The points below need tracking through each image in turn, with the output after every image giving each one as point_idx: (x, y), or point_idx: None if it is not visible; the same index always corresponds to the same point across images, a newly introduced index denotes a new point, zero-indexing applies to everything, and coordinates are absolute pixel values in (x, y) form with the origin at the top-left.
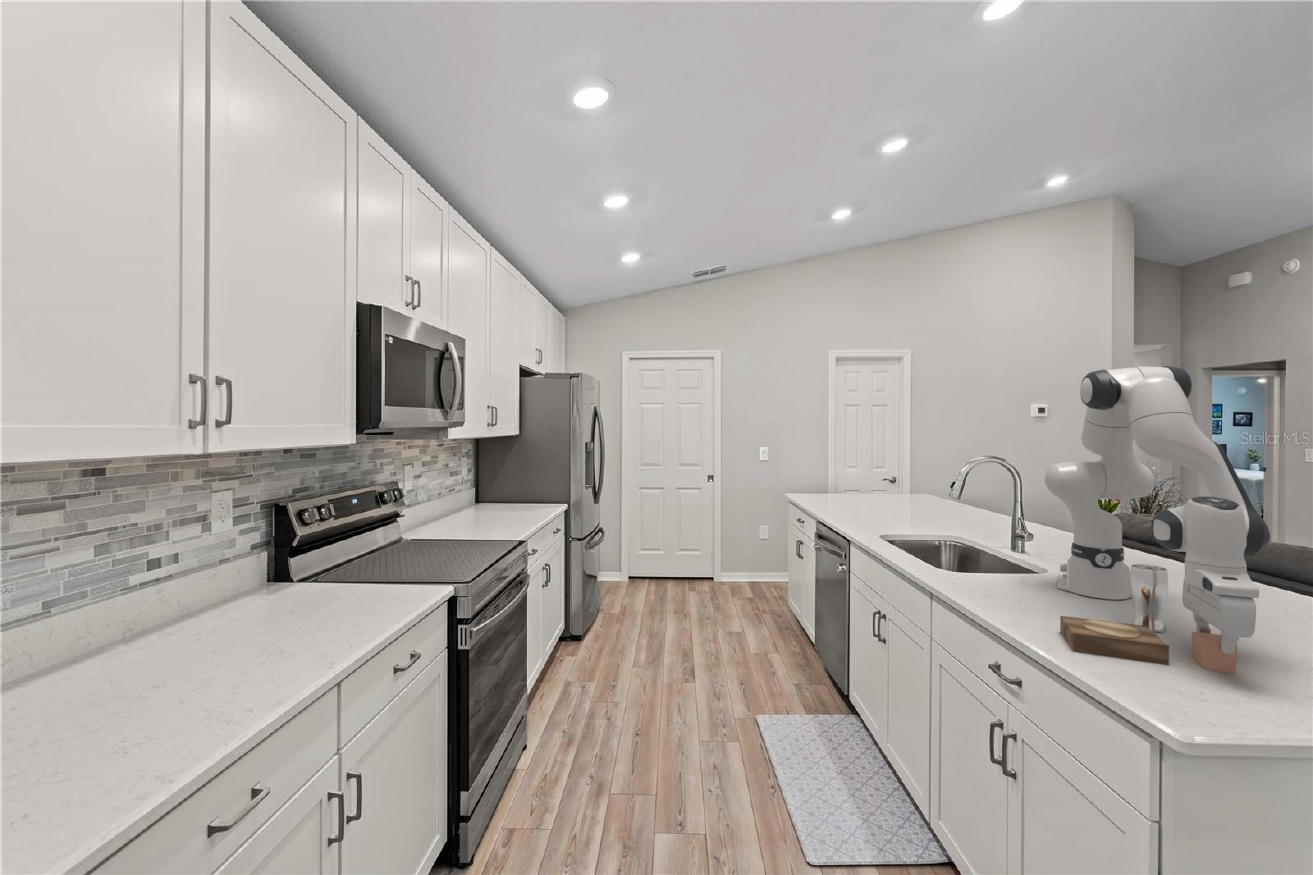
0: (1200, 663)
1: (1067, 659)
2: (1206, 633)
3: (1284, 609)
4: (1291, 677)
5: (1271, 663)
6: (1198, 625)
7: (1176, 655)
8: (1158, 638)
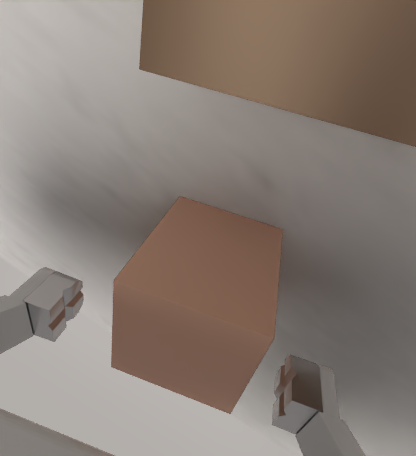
0: (197, 209)
1: None
2: (246, 375)
3: None
4: None
5: (269, 401)
6: (321, 424)
7: (326, 197)
8: (298, 92)
